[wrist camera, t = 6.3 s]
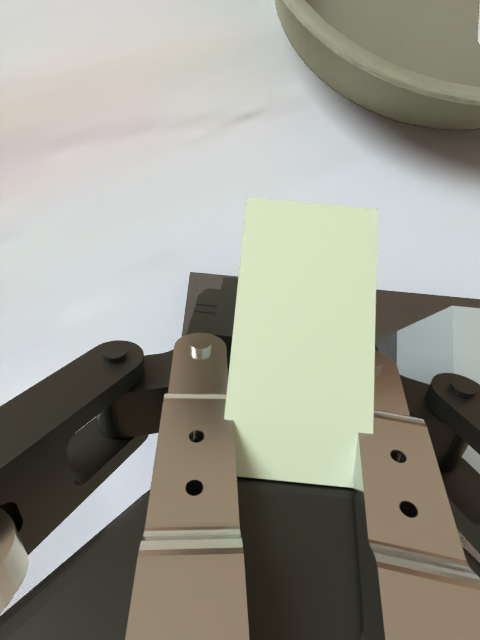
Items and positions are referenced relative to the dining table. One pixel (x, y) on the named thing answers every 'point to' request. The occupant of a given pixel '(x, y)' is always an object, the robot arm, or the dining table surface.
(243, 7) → the dining table surface
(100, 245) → the dining table surface
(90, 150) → the dining table surface
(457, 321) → the offcut
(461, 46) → the cake pan
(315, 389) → the pale green block
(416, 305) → the rack
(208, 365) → the robot arm
